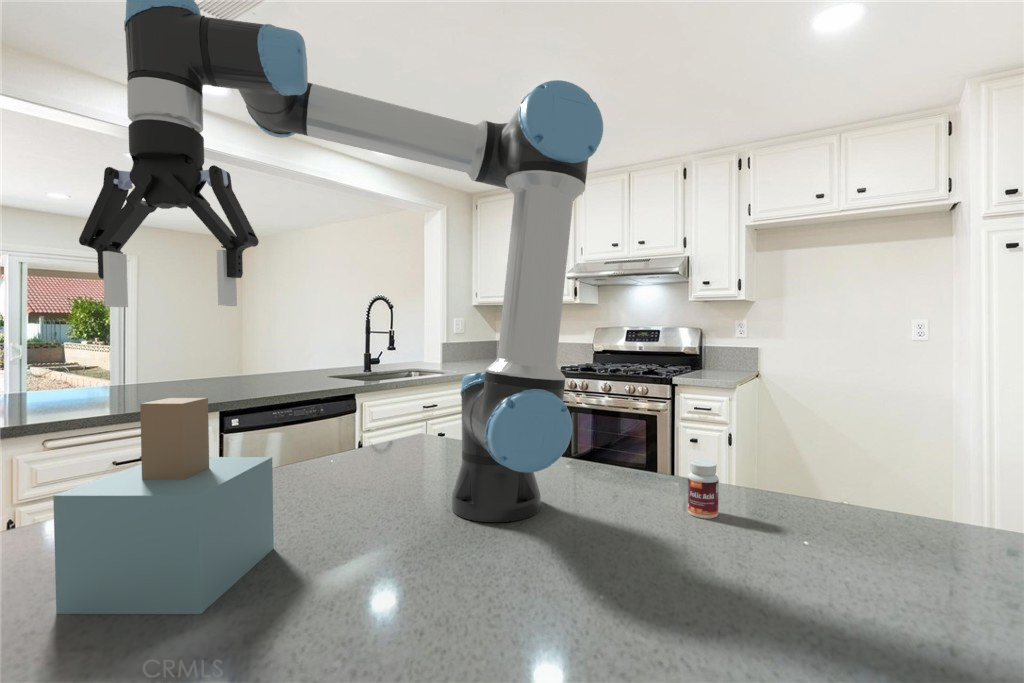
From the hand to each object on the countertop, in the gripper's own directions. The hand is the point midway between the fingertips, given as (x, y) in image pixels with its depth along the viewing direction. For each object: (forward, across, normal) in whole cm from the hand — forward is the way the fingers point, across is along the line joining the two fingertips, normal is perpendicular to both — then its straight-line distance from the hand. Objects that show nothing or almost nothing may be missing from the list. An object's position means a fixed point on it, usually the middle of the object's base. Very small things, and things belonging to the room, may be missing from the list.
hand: (172, 306), depth 63 cm
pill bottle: (+34, -72, -23) cm, 82 cm away
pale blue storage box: (+33, 0, 0) cm, 33 cm away
